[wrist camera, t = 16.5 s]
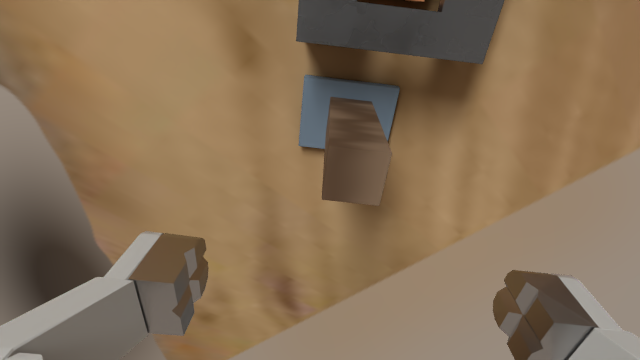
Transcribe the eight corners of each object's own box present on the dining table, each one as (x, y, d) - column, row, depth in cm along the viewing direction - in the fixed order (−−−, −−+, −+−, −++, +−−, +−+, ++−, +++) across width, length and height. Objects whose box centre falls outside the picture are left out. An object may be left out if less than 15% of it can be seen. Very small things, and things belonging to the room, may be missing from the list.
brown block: (371, 101, 30) (391, 153, 20) (364, 140, 32) (379, 205, 22) (330, 96, 30) (328, 145, 20) (325, 135, 32) (321, 199, 22)
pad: (397, 85, 31) (399, 88, 30) (383, 151, 34) (384, 155, 33) (305, 74, 30) (304, 76, 29) (299, 142, 34) (298, 145, 33)
